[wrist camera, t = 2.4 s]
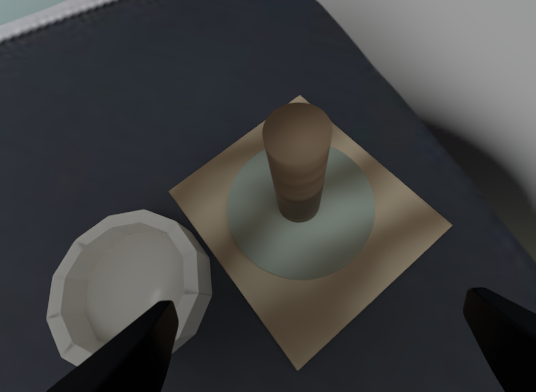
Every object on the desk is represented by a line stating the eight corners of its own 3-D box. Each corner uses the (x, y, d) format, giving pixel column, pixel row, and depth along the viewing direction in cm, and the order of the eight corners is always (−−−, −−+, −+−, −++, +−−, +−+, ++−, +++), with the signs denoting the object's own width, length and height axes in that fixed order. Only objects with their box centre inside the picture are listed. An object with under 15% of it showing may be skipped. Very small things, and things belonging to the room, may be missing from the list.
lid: (404, 213, 22) (488, 134, 12) (291, 314, 21) (281, 320, 10) (304, 124, 27) (306, 11, 17) (203, 201, 25) (136, 127, 15)
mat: (450, 226, 22) (452, 225, 22) (297, 370, 19) (297, 370, 19) (299, 97, 28) (299, 95, 28) (170, 192, 26) (168, 191, 26)
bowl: (237, 298, 22) (228, 296, 19) (116, 400, 20) (84, 416, 17) (168, 199, 26) (151, 185, 23) (61, 278, 24) (28, 273, 21)
